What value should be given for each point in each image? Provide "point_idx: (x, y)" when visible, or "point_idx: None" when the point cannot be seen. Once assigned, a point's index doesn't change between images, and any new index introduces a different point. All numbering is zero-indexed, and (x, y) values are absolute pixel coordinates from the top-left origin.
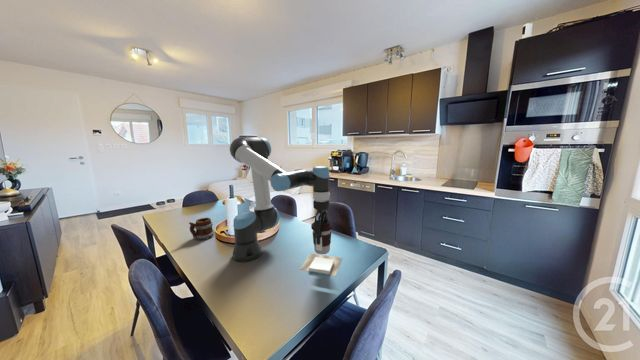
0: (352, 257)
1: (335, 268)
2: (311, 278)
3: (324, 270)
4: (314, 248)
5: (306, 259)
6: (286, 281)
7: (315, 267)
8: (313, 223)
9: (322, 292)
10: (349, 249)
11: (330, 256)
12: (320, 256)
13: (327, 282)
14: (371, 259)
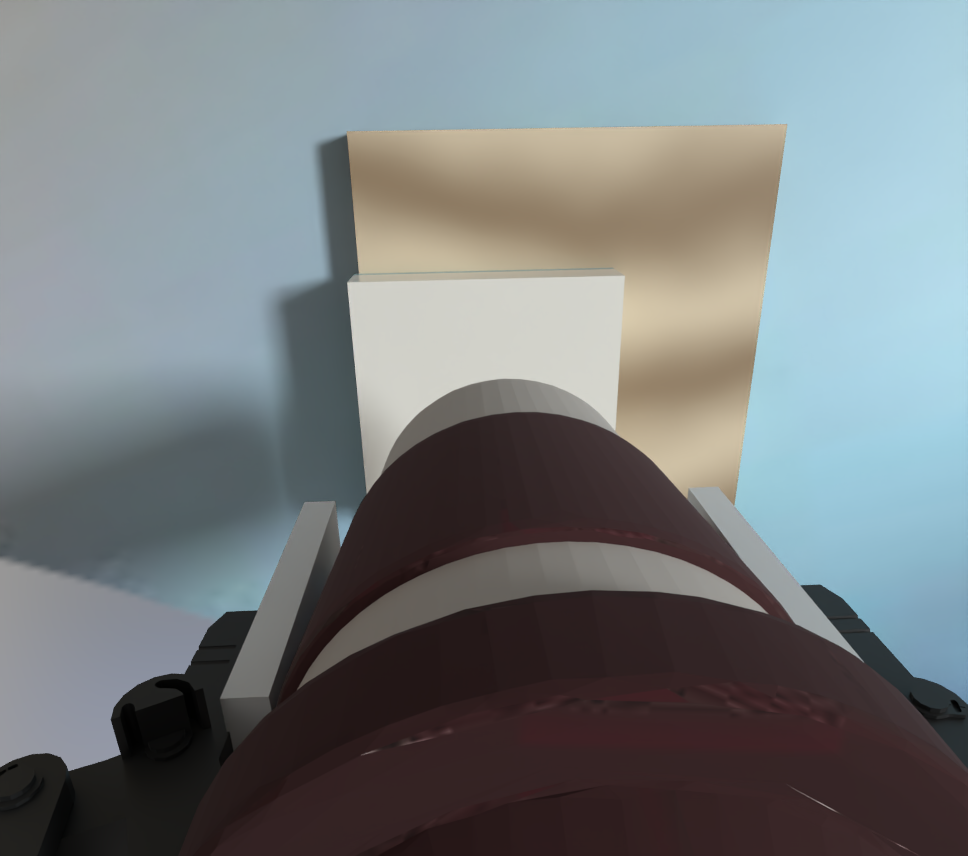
0: None
1: None
2: (290, 327)
3: (366, 475)
4: (449, 403)
5: (610, 132)
6: (107, 50)
7: (380, 363)
8: (663, 750)
9: (141, 495)
10: (960, 553)
11: (742, 417)
12: (722, 299)
13: (295, 496)
14: None
